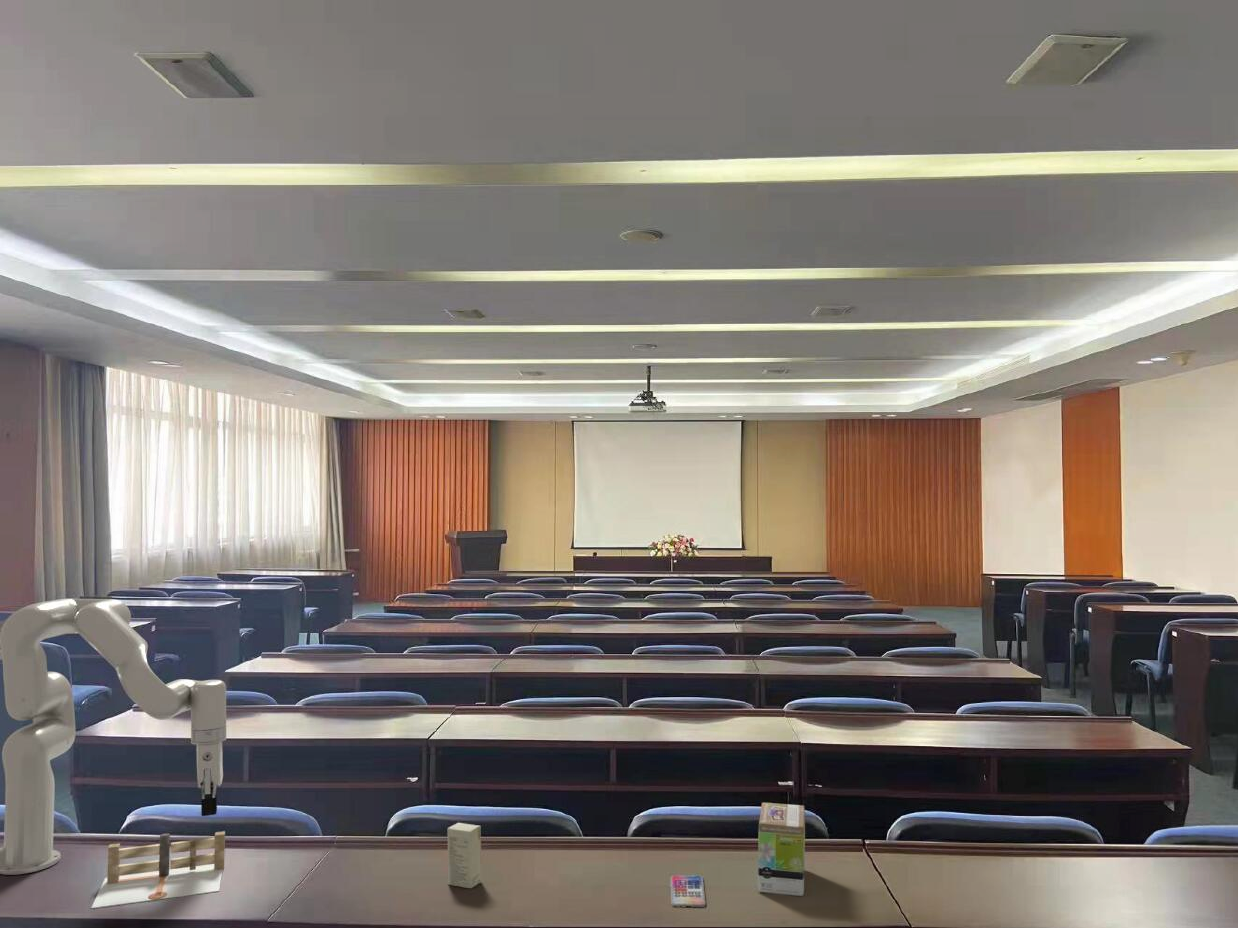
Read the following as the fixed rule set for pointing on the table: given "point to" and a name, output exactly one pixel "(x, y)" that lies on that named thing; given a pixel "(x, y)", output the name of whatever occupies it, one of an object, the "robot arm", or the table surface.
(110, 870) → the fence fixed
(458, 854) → the skincare box
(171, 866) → the fence gate
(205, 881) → the card
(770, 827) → the tea box
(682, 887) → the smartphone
